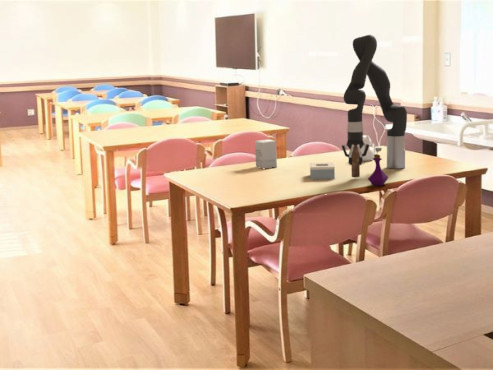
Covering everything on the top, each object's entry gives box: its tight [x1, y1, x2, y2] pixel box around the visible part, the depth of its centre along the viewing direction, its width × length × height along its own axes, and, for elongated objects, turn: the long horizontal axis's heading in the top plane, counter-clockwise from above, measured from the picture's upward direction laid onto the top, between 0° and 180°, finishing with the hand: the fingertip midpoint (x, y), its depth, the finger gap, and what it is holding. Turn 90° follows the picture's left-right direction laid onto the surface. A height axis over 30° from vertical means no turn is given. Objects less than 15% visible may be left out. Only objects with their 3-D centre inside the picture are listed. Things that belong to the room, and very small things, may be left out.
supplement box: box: [254, 138, 278, 169], centre depth 397 cm, size 9×9×15 cm
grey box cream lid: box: [309, 162, 336, 180], centre depth 366 cm, size 12×12×6 cm
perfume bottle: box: [367, 147, 389, 187], centre depth 341 cm, size 8×8×18 cm
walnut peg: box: [350, 145, 361, 178], centre depth 356 cm, size 4×4×16 cm
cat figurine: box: [361, 134, 377, 162], centre depth 408 cm, size 9×12×15 cm
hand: (355, 164), depth 356 cm, fingers closed on walnut peg, 4 cm apart
